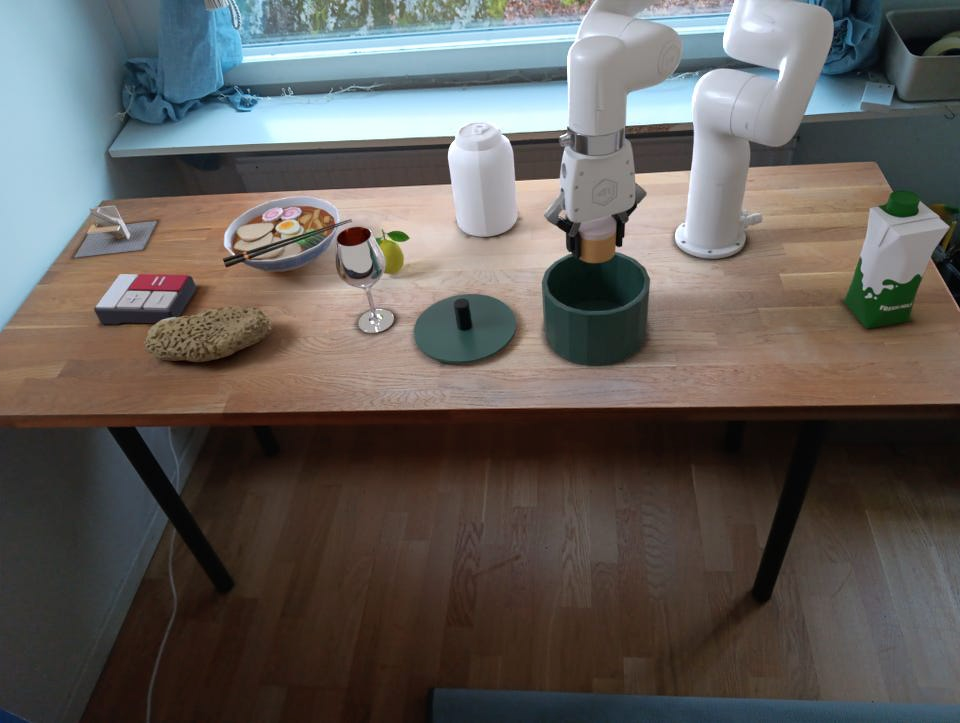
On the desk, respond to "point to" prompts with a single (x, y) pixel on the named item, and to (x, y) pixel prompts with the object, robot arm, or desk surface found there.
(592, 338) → the pot
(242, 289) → the desk surface
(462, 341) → the lid
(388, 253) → the lemon
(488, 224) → the can
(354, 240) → the wineglass
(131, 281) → the calculator
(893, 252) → the milk carton
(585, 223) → the cake
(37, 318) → the desk surface
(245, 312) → the sponge
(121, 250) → the architectural model
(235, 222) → the ramen bowl
